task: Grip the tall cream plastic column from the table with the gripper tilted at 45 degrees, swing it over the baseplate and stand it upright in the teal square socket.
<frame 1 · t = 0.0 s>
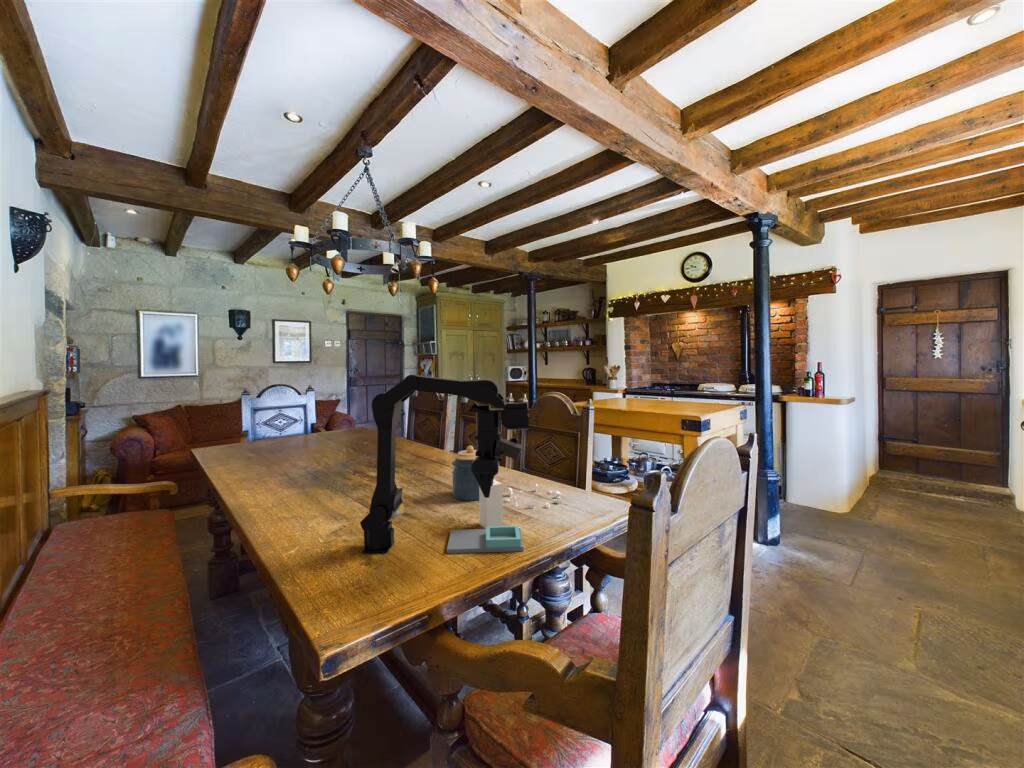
hand: (488, 491, 107), 15 cm above the table, tool pointing down, fingers open, 9 cm apart
bread roll: (390, 513, 134), on the table
canister: (470, 495, 150), on the table
game piece set: (533, 501, 145), on the table
baseplate: (485, 541, 112), on the table
column: (491, 525, 123), on the table
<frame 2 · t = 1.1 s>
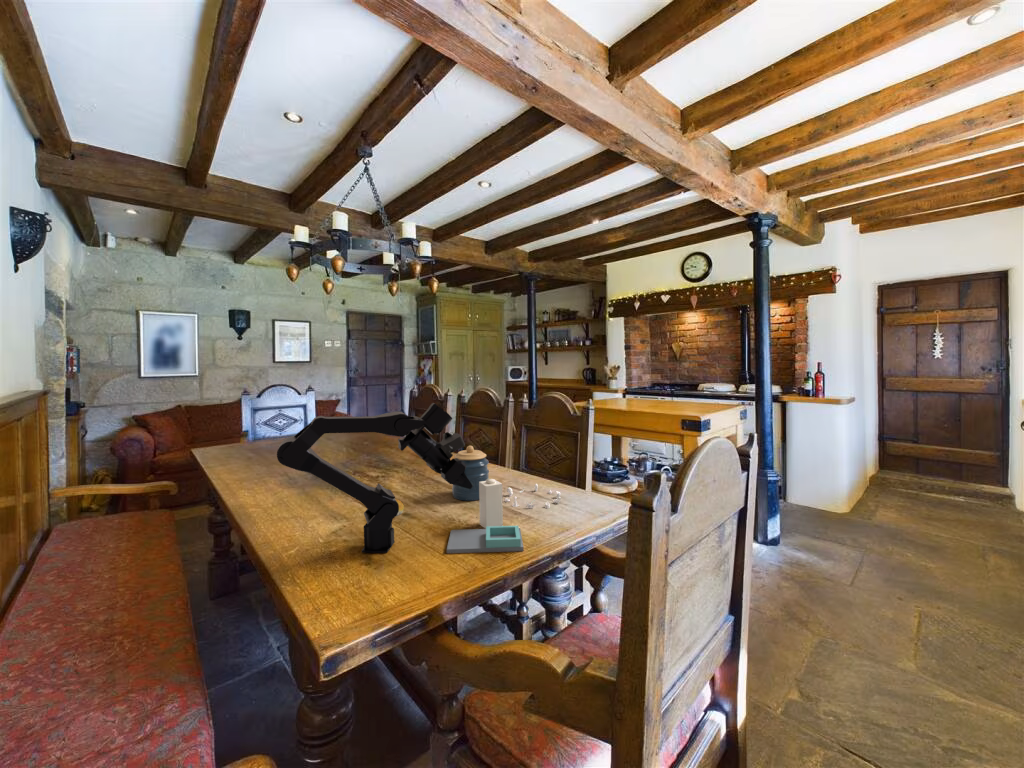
hand: (465, 483, 118), 13 cm above the table, tool tilted 45°, fingers open, 9 cm apart
nothing on the table moved.
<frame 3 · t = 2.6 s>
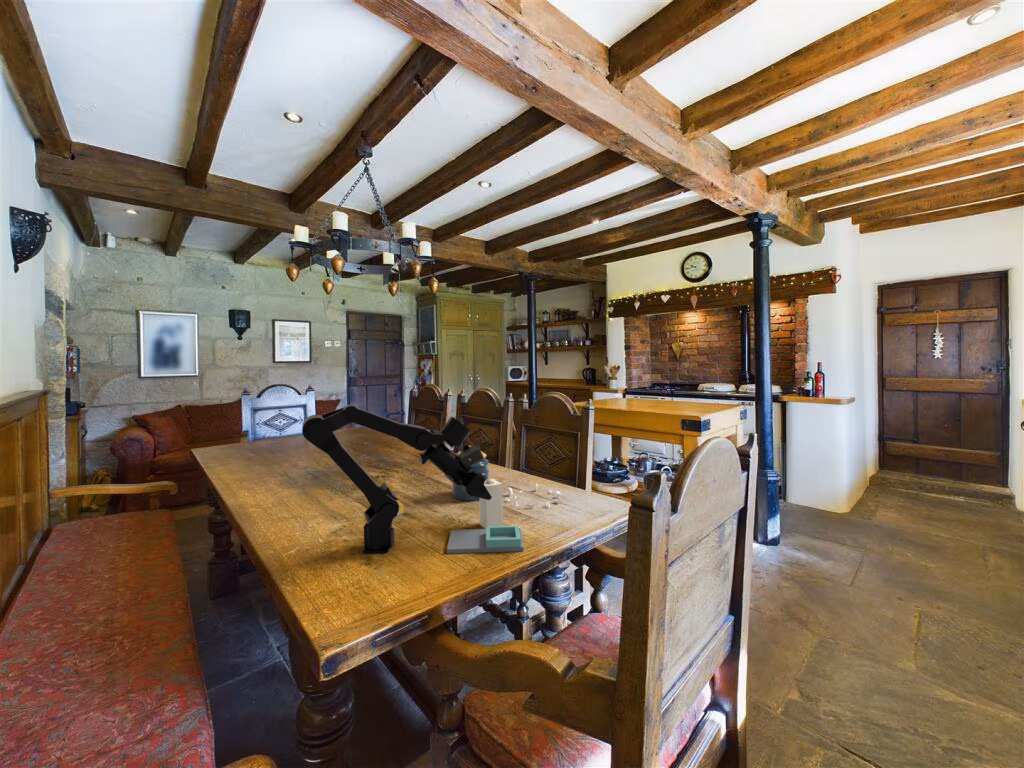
hand: (484, 493, 121), 10 cm above the table, tool tilted 45°, fingers open, 9 cm apart
nothing on the table moved.
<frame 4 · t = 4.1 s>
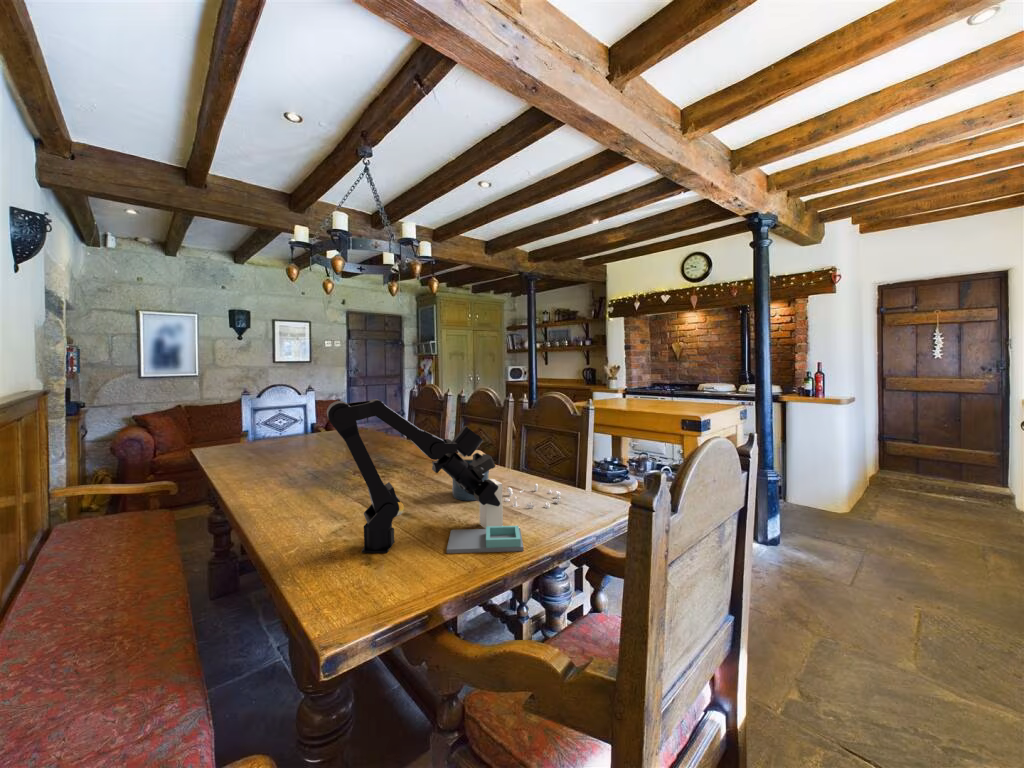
hand: (495, 502, 123), 7 cm above the table, tool tilted 45°, fingers closed on column, 5 cm apart
column: (491, 525, 123), on the table, touching gripper
everything else where it was.
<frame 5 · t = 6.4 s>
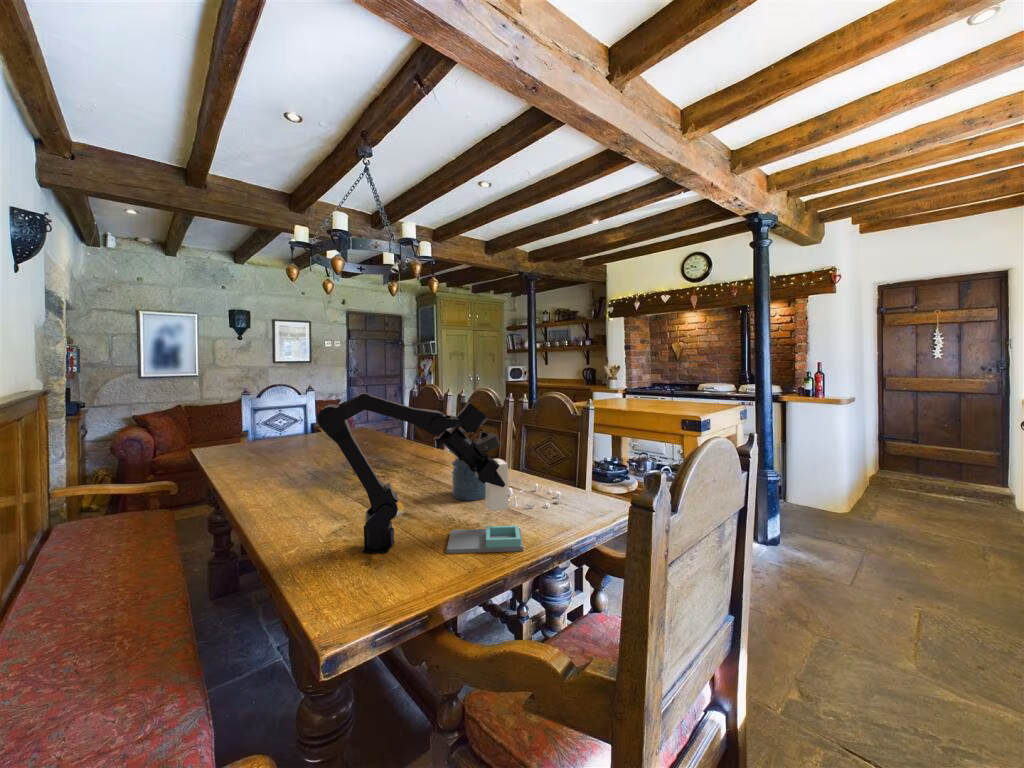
hand: (501, 483, 118), 13 cm above the table, tool tilted 45°, fingers closed on column, 5 cm apart
column: (496, 507, 118), point 7 cm above the table, touching gripper
everything else where it was.
when the fingers open (8 cm above the table, at t = 8.8 s): column stays where it is, resting on baseplate.
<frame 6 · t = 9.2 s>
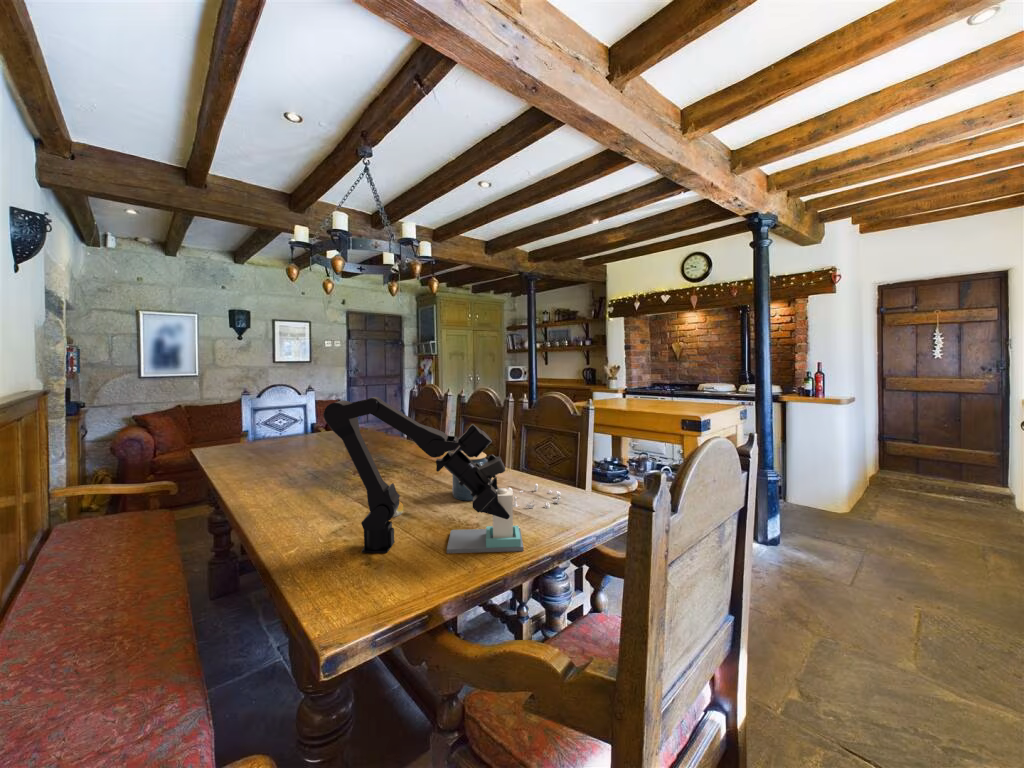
hand: (507, 511, 110), 9 cm above the table, tool tilted 45°, fingers open, 9 cm apart
column: (502, 539, 110), point 1 cm above the table, touching baseplate
everything else where it was.
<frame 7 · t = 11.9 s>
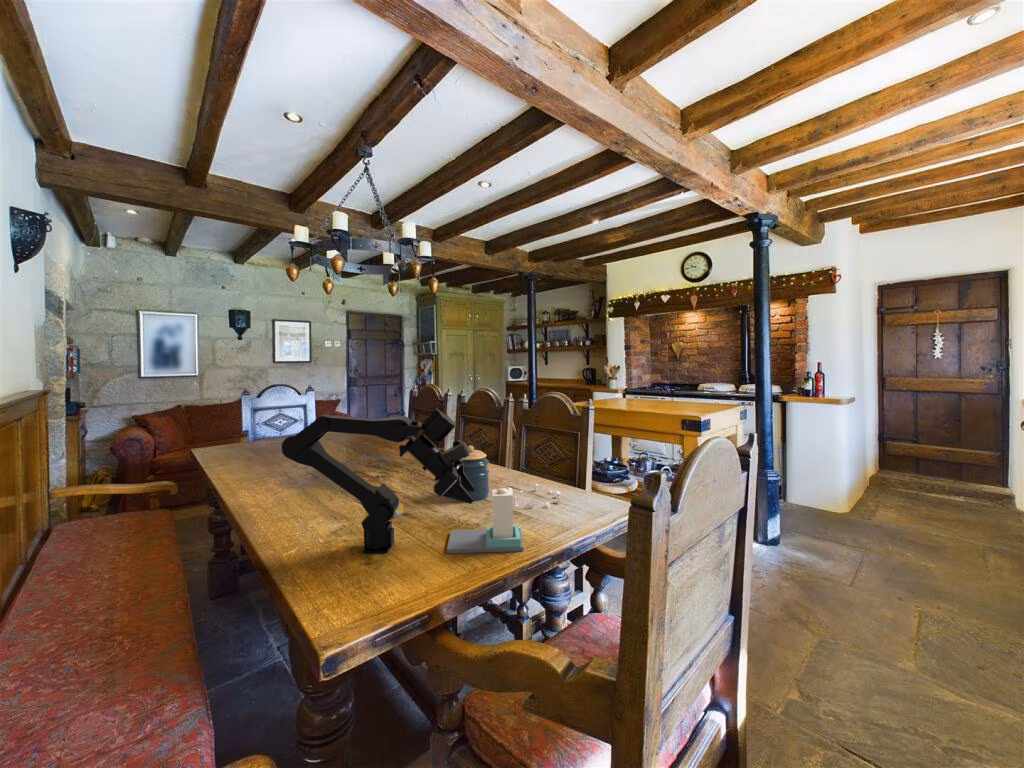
hand: (472, 496, 109), 13 cm above the table, tool tilted 45°, fingers open, 9 cm apart
nothing on the table moved.
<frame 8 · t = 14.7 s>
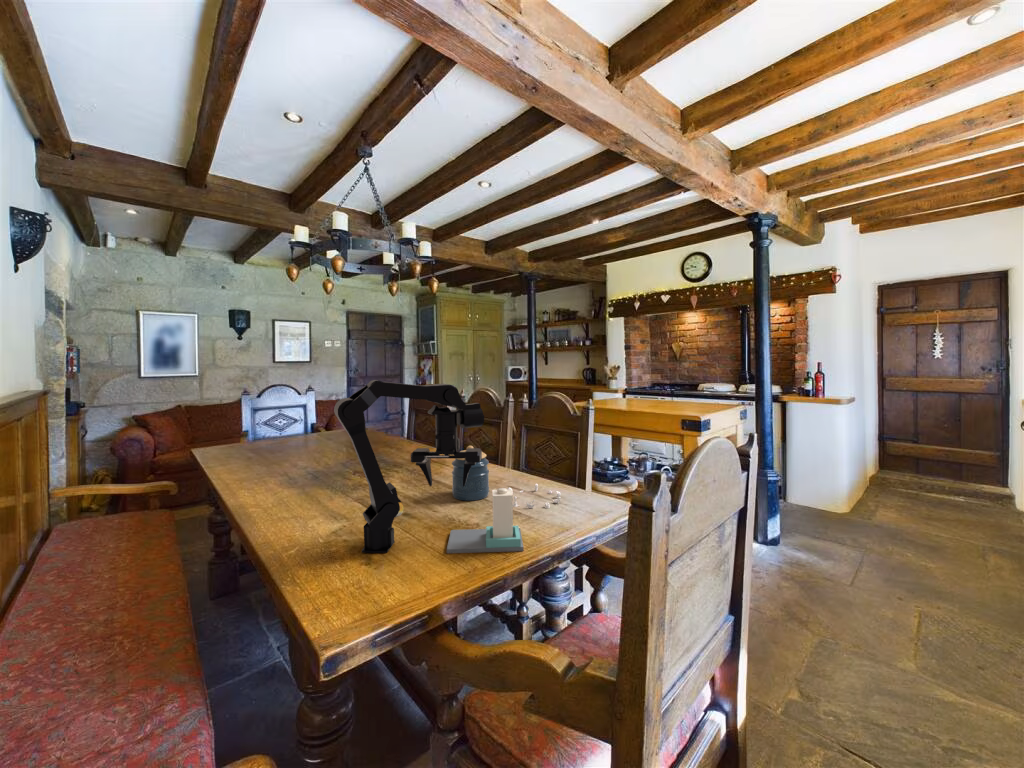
hand: (447, 486, 117), 13 cm above the table, tool pointing down, fingers open, 9 cm apart
nothing on the table moved.
at the end: column 0.0 cm from the target spot, point 1.0 cm above the table; column tilted 0°; the gripper is holding nothing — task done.
